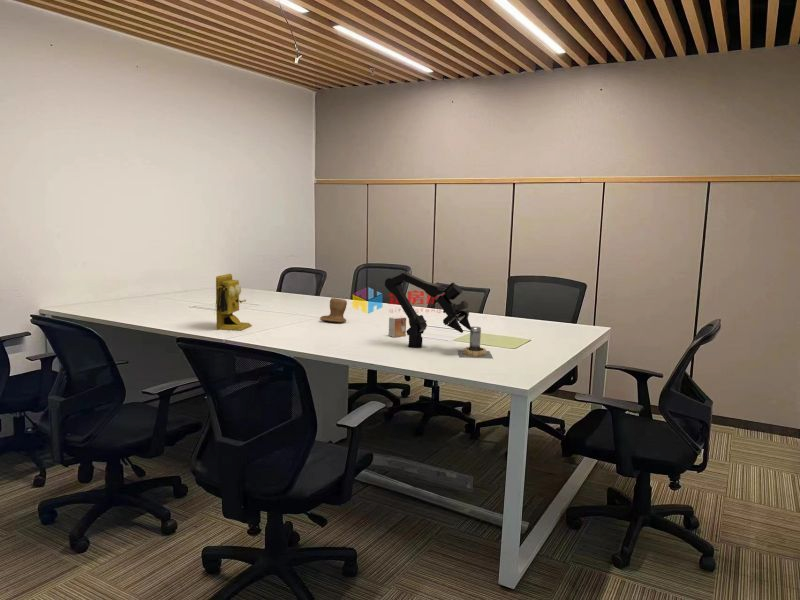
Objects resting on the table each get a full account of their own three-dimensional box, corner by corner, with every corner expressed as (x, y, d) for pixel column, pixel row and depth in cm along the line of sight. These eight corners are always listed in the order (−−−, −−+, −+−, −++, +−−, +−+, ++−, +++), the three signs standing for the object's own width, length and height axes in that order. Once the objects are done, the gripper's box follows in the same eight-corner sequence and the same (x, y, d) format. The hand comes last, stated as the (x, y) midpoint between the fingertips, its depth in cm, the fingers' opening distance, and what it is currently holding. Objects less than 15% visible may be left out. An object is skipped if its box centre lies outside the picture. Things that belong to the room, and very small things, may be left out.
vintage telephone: (234, 334, 322) (233, 279, 318) (209, 332, 324) (209, 277, 320) (256, 324, 353) (256, 273, 349) (234, 322, 355) (234, 272, 351)
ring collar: (464, 356, 282) (464, 351, 282) (463, 351, 292) (463, 346, 292) (486, 356, 282) (486, 351, 281) (484, 352, 292) (484, 347, 292)
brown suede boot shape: (350, 321, 370) (350, 297, 368) (341, 324, 359) (341, 299, 357) (328, 319, 376) (329, 295, 374) (319, 322, 365) (319, 298, 363)
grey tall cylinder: (472, 355, 284) (473, 328, 282) (467, 353, 288) (468, 326, 286) (481, 354, 286) (483, 328, 284) (476, 352, 290) (477, 326, 289)
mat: (459, 358, 279) (459, 357, 279) (457, 351, 295) (457, 349, 295) (493, 359, 279) (493, 358, 279) (489, 352, 295) (489, 351, 295)
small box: (394, 337, 324) (394, 318, 323) (388, 335, 329) (388, 317, 327) (406, 336, 329) (406, 317, 327) (400, 334, 333) (400, 316, 332)
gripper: (450, 297, 280) (470, 323, 276) (466, 293, 296) (485, 318, 292) (434, 312, 285) (454, 337, 281) (451, 307, 301) (470, 331, 297)
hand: (466, 330), depth 288 cm, fingers open, 9 cm apart
